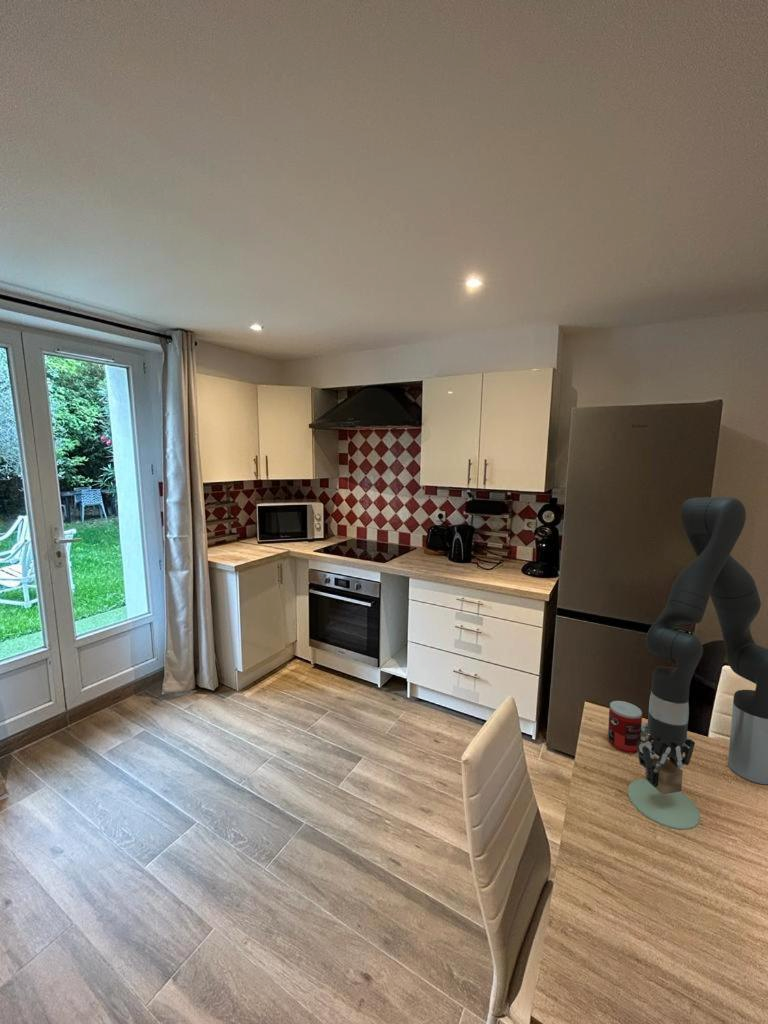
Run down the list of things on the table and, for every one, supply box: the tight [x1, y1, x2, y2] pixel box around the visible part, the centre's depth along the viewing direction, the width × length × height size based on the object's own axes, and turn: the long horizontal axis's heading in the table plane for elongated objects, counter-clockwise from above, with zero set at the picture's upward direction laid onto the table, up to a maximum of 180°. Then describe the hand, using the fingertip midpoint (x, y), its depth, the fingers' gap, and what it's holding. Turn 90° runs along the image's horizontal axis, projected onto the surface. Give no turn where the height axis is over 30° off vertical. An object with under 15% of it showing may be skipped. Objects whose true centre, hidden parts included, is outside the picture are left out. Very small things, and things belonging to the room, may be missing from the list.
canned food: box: [607, 700, 643, 754], centre depth 118 cm, size 8×8×11 cm
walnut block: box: [644, 756, 684, 795], centre depth 97 cm, size 5×5×5 cm
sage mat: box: [627, 778, 701, 831], centre depth 98 cm, size 14×14×1 cm
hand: (662, 782), depth 97 cm, fingers closed on walnut block, 5 cm apart
